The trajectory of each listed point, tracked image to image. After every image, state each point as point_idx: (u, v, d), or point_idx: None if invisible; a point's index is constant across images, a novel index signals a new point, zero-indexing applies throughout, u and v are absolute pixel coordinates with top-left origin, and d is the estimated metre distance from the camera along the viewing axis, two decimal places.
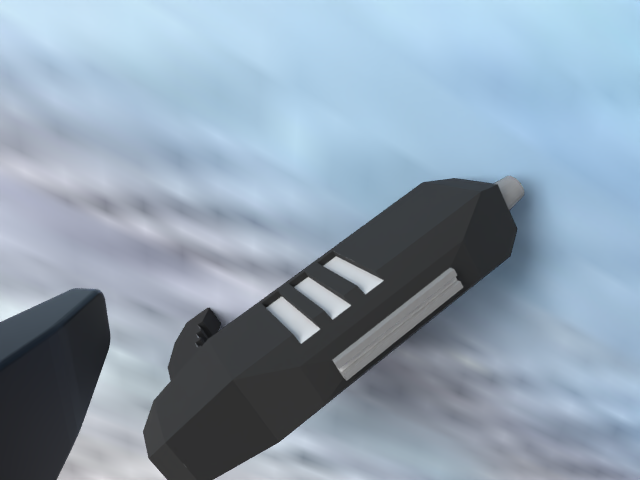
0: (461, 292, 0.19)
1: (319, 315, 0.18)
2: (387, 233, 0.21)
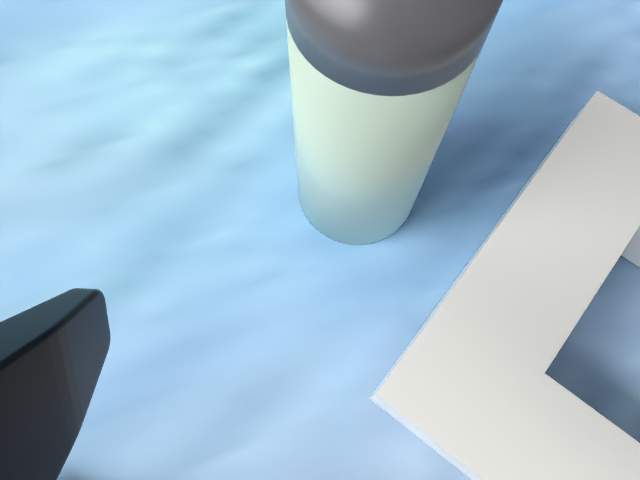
0: None
1: None
2: None
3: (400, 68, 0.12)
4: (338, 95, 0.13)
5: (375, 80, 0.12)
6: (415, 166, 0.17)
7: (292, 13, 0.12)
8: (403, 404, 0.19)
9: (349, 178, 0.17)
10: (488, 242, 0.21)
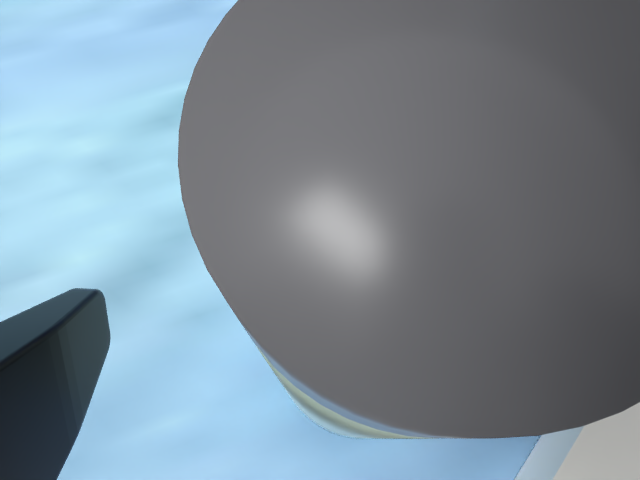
0: None
1: None
2: None
3: None
4: (326, 410, 0.06)
5: (407, 432, 0.05)
6: None
7: None
8: None
9: (349, 432, 0.10)
10: (561, 468, 0.14)
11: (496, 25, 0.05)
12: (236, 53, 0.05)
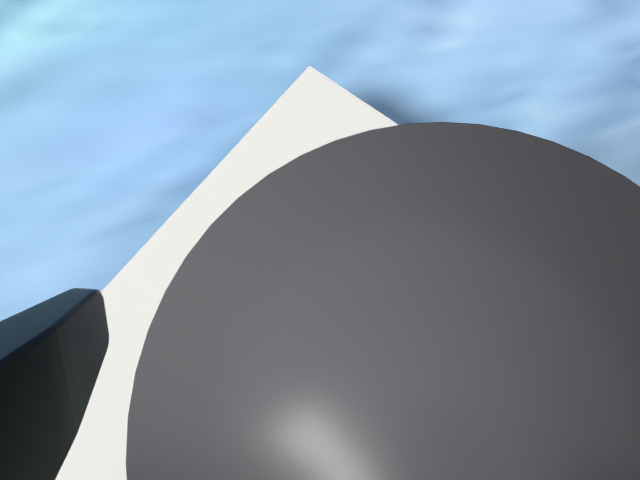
0: None
1: None
2: None
3: None
4: None
5: None
6: None
7: None
8: None
9: None
10: (125, 269, 0.15)
11: (498, 270, 0.04)
12: (196, 311, 0.04)
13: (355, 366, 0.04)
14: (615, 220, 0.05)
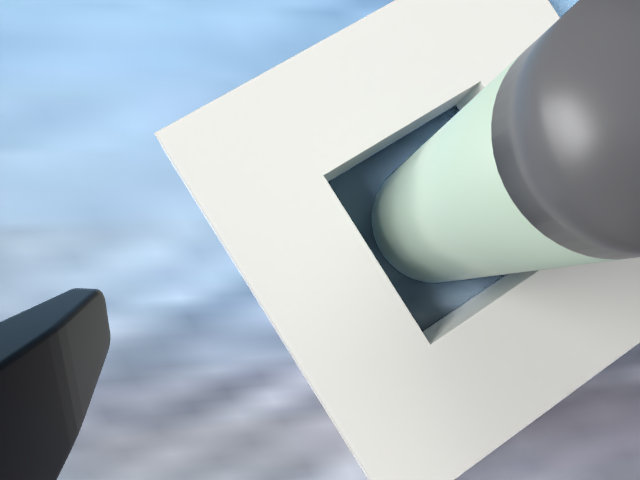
0: None
1: None
2: None
3: (610, 247, 0.10)
4: (512, 219, 0.12)
5: (571, 238, 0.11)
6: None
7: (514, 128, 0.10)
8: (176, 152, 0.19)
9: (456, 255, 0.16)
10: (327, 39, 0.20)
11: None
12: (586, 18, 0.10)
13: None
14: None
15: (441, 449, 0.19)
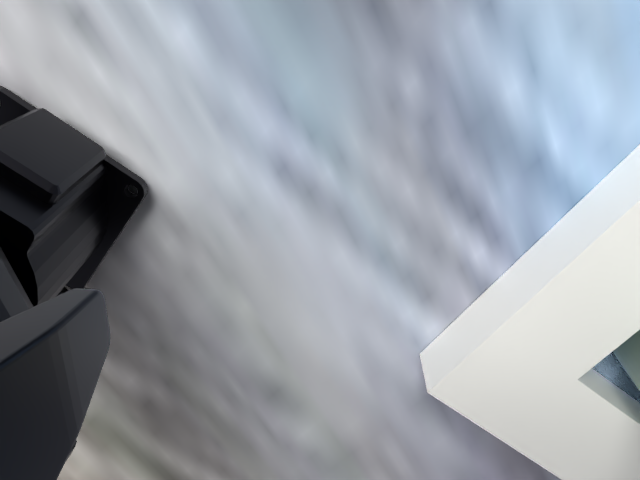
0: None
1: None
2: None
3: None
4: None
5: None
6: None
7: None
8: None
9: None
10: None
11: None
12: None
13: None
14: None
15: (491, 407, 0.23)
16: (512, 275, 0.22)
